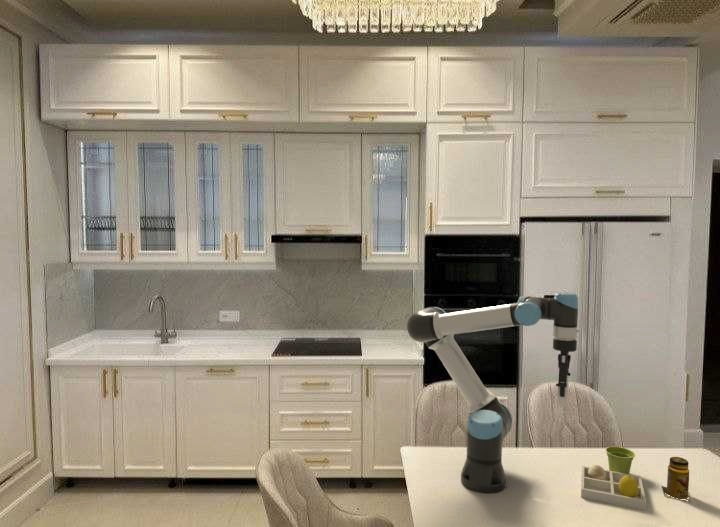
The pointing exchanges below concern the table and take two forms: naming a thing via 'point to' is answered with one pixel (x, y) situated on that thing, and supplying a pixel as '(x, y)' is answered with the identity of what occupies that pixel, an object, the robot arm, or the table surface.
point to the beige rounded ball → (597, 472)
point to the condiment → (677, 479)
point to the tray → (611, 489)
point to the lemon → (628, 486)
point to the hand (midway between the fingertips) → (562, 399)
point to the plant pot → (619, 459)
